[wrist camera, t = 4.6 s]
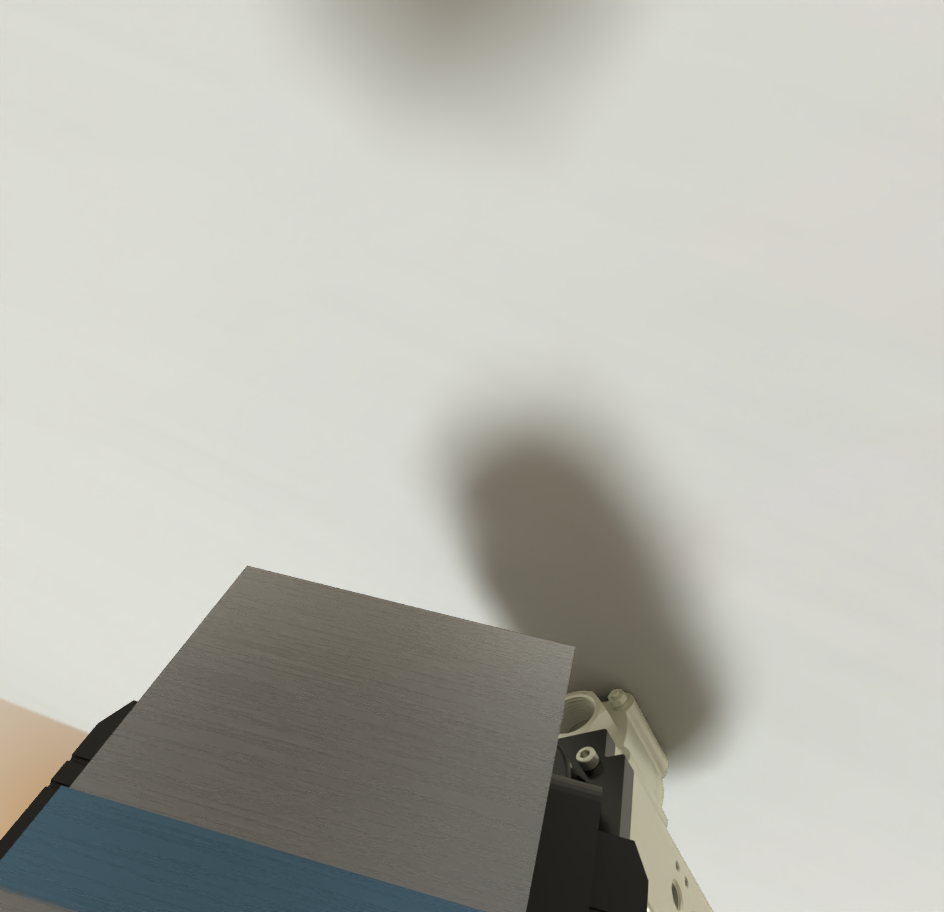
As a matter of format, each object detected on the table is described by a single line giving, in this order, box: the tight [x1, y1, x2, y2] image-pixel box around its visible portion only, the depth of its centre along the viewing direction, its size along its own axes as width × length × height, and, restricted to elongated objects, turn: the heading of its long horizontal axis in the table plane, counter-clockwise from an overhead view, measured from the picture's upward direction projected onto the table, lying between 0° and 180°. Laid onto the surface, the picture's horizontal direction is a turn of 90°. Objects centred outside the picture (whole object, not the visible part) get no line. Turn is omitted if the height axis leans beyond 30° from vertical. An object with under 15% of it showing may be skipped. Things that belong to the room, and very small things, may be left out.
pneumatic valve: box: [552, 689, 713, 912], centre depth 25 cm, size 6×12×12 cm, turn 28°
